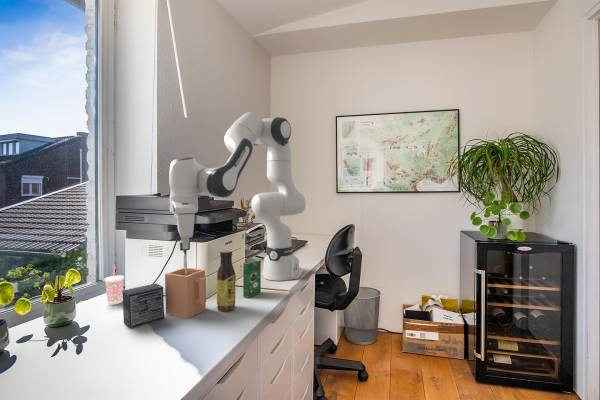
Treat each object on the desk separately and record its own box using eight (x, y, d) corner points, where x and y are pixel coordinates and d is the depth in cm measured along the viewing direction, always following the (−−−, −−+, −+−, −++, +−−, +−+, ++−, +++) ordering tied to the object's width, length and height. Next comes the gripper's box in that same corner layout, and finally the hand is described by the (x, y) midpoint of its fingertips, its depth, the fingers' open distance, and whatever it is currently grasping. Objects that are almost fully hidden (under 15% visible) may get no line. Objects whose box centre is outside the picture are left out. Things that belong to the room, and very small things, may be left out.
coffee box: (255, 291, 133) (255, 258, 132) (261, 292, 131) (261, 259, 131) (242, 297, 126) (242, 262, 125) (248, 298, 124) (248, 263, 124)
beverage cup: (101, 304, 118) (99, 265, 118) (115, 298, 124) (113, 261, 124) (115, 306, 117) (113, 266, 116) (128, 300, 123) (127, 262, 122)
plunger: (184, 286, 116) (183, 238, 115) (200, 288, 113) (199, 239, 112) (170, 291, 110) (169, 241, 109) (186, 294, 107) (185, 242, 106)
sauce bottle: (231, 312, 111) (230, 253, 110) (213, 311, 112) (212, 253, 111) (238, 305, 117) (238, 249, 116) (222, 304, 118) (221, 249, 117)
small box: (157, 313, 110) (156, 282, 110) (165, 319, 106) (164, 286, 105) (122, 322, 103) (121, 289, 103) (129, 329, 98) (128, 294, 98)
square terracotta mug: (185, 304, 118) (184, 267, 117) (213, 309, 113) (212, 270, 112) (165, 314, 109) (164, 273, 109) (195, 320, 105) (194, 277, 104)
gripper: (172, 204, 118) (173, 243, 119) (175, 208, 100) (176, 254, 100) (191, 204, 121) (192, 242, 122) (196, 208, 102) (197, 252, 103)
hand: (185, 247), depth 111 cm, fingers closed on plunger, 3 cm apart
